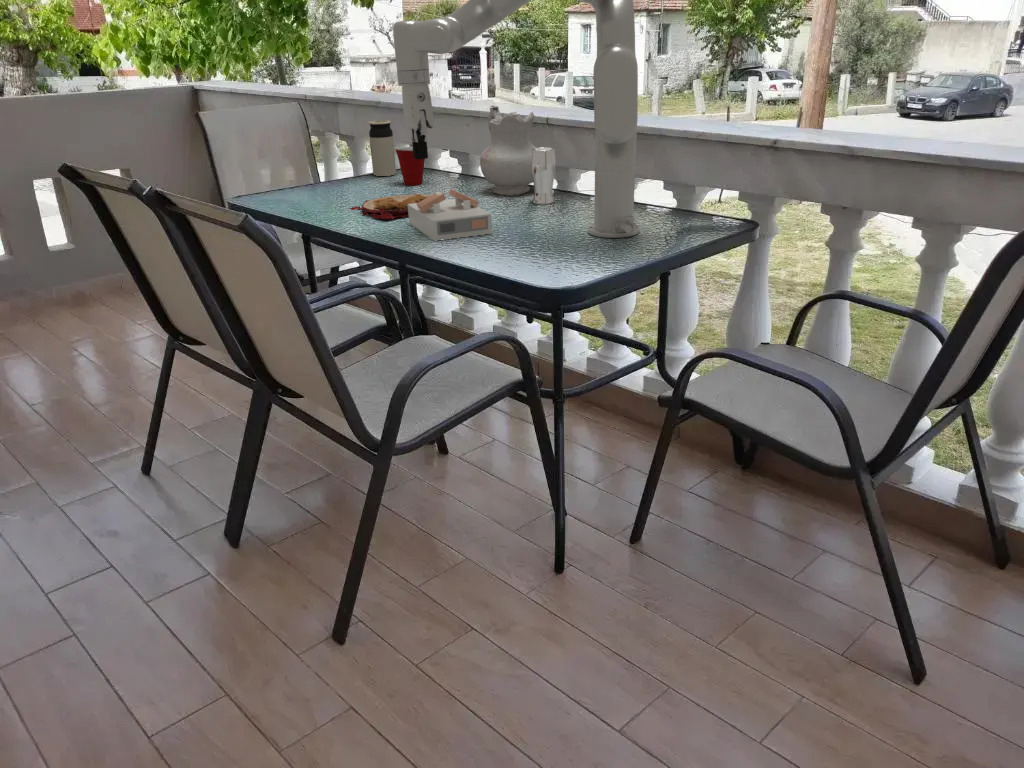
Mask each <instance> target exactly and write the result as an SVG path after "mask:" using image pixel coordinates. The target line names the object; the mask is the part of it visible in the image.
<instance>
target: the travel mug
mask: <svg viewBox="0 0 1024 768" xmlns="http://www.w3.org/2000/svg"><path fill="white" fill-rule="evenodd" d="M391 123H392V121H391V120H372V121H369V122H368V124H369V127H370V129H369V132H368V134H369V143H370V144H369V145H370V155H371V165H372V174H374V175H376V176H375V177H377V176H388V177H392V176H391V175H393V176H395V175H396V174H397V169H396V168H397V167H396V158H395V149H394V148H395V146H394V133H393V130H392V127H391ZM374 175H373V176H374Z"/></svg>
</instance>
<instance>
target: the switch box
mask: <svg viewBox="0 0 1024 768" xmlns="http://www.w3.org/2000/svg"><path fill="white" fill-rule="evenodd" d="M408 223H409V224H410V225H411V226H413V227H414V228H415V229H417V230H418V231H420V233H422V234H423V233H424V234H423V235H425V234H426V235H427V236H428V238H429V237H430V238H431V239H430V238H429V239H430V240H432V239H433V240H441V239H449V240H451V239H450V238H457V239H461V238H460V237H465V238H470V237H469V236H473V237H478V236H477V235H481V236H486V235H485V234H489V235H493V226H492V225H493V224H492V223H493V222H492V213H490V212H488V211H486V210H485V209H483V208H481V207H479V206H477V207H476V206H473V205H471V204H470V200H467V201H463V203H462V202H460V201H458V200H457V198H455V197H454V198H452V199H445V200H444V201H442V202H440V203H438V204H433V207H432V208H430V209H428V210H426V211H425V212H423V211H422V210H420V209H419V208H418V206H417V203H413V204H408ZM426 235H425V236H426ZM427 236H426V237H427ZM433 240H432V241H433Z"/></svg>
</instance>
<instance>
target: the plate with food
mask: <svg viewBox="0 0 1024 768" xmlns="http://www.w3.org/2000/svg"><path fill="white" fill-rule="evenodd" d="M431 195H432V194H423V193H422V194H420V193H413V194H400V195H397V194H396V195H394V194H393V195H392V196H381V197H378V198H373V199H370V200H369V199H368V200H367V199H366V200H365V201H364V202H363V203H362V204H361V205H357V206H352V207H349V208H348V210H349V209H351V210H352V211H354V210H356V211H361V210H363V211H361V212H363V215H366V216H365V217H369V216H371V218H372V219H375V220H377V219H378V220H379V219H380V220H390V219H391V220H394V219H398V218H403V219H404V218H408V217H409V215H408V204H413V203H418V202H420V201H422V200H424V199H425V198H427V197H429V196H431ZM360 206H361V208H360ZM351 210H350V211H351ZM357 213H358V214H359V215H361V214H362V213H359V212H357ZM378 213H380V214H378ZM363 215H362V216H363ZM368 215H369V216H368Z"/></svg>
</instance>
